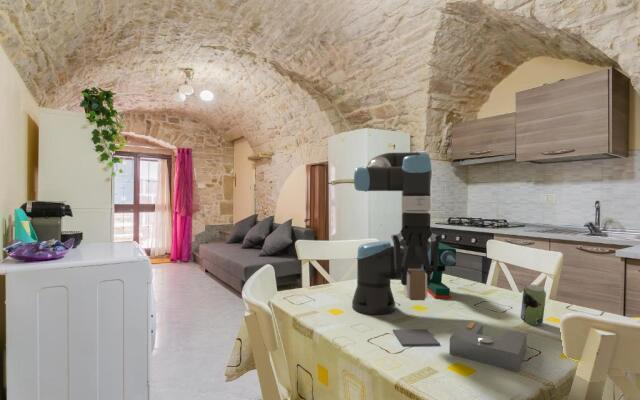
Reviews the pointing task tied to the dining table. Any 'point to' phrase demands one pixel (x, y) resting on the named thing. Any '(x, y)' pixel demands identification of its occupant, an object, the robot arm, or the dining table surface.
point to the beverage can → (533, 304)
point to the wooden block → (417, 284)
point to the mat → (415, 337)
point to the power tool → (444, 259)
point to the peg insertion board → (489, 346)
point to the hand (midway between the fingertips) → (415, 296)
